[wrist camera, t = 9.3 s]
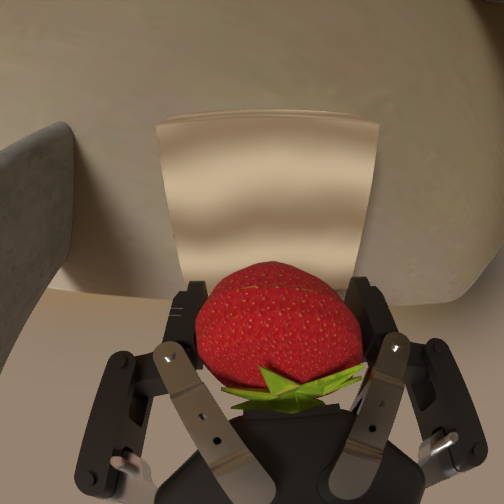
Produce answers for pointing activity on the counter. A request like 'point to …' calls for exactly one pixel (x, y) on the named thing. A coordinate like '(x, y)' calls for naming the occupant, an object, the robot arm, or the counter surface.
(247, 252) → the plinth
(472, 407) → the robot arm
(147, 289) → the counter surface
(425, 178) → the counter surface
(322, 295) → the strawberry
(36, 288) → the hip flask
